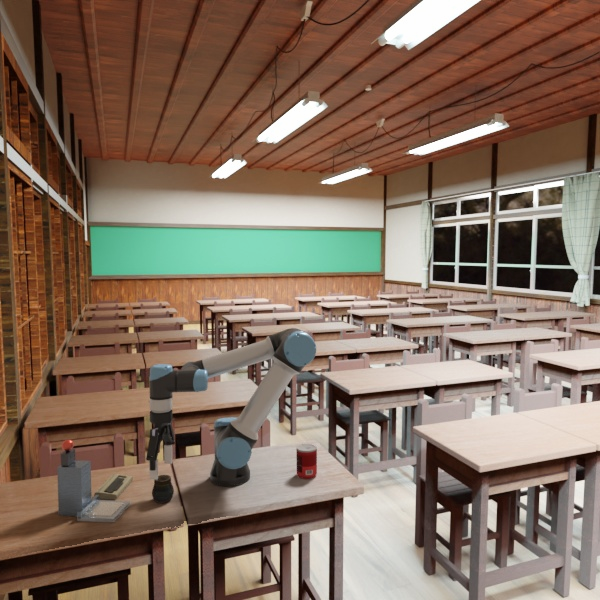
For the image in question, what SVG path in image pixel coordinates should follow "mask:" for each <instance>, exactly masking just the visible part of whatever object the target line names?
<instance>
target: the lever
mask: <svg viewBox="0 0 600 600" xmlns="http://www.w3.org/2000/svg"><path fill="white" fill-rule="evenodd" d="M74 446H75V443H74V441H73V440H72V439H66V440H65V439H64V440H63V442H62V444H61V449H62V450H63V452H61V453H60V465H61V466H69V465H70V464H71V463H73V462H74V461H75V460H76V448H74Z"/></svg>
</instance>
